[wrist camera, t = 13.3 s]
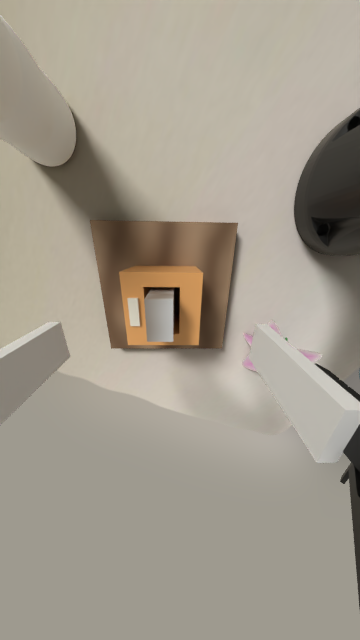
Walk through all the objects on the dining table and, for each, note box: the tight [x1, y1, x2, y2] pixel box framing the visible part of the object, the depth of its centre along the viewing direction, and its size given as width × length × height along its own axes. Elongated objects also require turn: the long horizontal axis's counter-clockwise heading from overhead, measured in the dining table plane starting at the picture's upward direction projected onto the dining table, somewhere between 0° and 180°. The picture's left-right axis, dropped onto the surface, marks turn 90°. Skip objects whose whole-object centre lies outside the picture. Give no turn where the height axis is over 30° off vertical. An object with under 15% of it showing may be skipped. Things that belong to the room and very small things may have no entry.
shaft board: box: [90, 220, 238, 348], centre depth 20 cm, size 18×18×12 cm
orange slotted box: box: [119, 266, 203, 345], centre depth 21 cm, size 8×8×7 cm
